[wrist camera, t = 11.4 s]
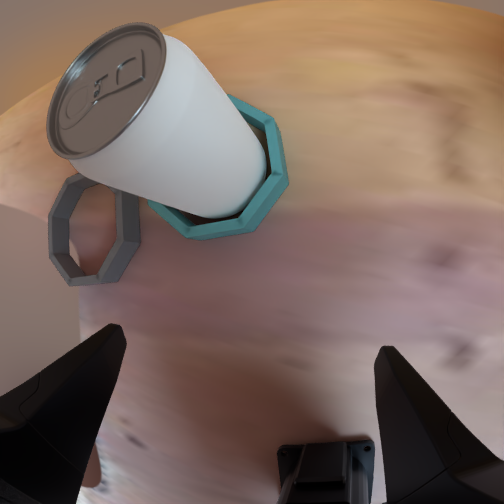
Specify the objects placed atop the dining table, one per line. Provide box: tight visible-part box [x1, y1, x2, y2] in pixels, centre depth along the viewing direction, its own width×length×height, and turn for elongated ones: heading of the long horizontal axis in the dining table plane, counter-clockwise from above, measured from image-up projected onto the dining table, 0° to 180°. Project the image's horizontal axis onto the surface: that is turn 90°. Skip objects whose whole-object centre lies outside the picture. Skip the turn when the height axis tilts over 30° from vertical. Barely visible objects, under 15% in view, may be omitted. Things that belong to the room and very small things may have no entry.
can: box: [46, 22, 267, 219], centre depth 14 cm, size 6×6×12 cm
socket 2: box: [148, 94, 289, 240], centre depth 19 cm, size 9×9×2 cm
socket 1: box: [48, 173, 141, 286], centre depth 22 cm, size 9×9×2 cm
